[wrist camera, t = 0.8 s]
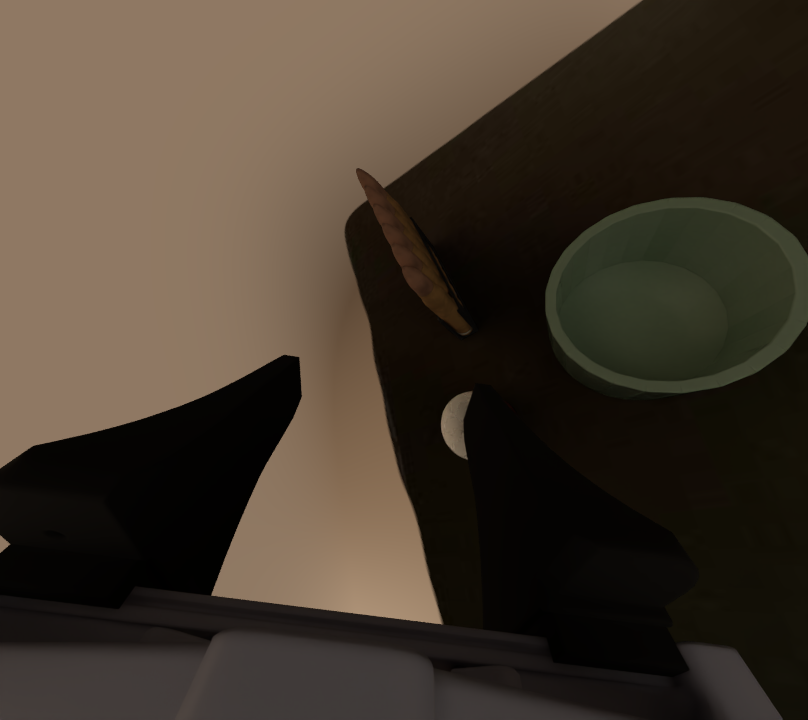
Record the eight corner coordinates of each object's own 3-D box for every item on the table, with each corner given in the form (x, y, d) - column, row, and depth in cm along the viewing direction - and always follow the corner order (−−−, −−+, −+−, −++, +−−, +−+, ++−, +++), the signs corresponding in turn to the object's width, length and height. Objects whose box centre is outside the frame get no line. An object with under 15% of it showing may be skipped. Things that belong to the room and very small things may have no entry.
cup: (785, 350, 17) (899, 316, 11) (601, 425, 20) (617, 428, 15) (660, 229, 21) (697, 158, 15) (523, 309, 24) (512, 276, 19)
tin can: (532, 438, 22) (523, 444, 17) (480, 460, 24) (458, 472, 18) (503, 387, 24) (487, 378, 19) (457, 410, 25) (430, 408, 20)
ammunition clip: (479, 330, 26) (424, 270, 15) (460, 340, 26) (395, 289, 16) (432, 244, 30) (363, 150, 19) (417, 255, 30) (342, 170, 20)
